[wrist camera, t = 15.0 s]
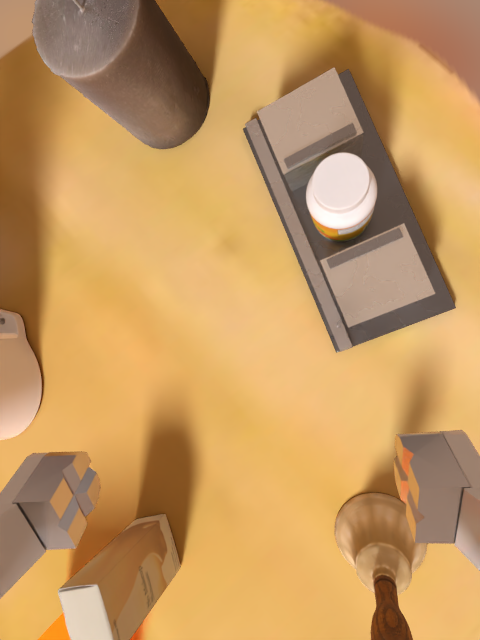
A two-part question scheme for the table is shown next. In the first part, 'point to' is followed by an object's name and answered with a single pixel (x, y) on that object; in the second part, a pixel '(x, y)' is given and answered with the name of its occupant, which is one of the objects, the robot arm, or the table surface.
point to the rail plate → (374, 242)
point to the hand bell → (380, 556)
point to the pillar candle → (125, 65)
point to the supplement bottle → (341, 196)
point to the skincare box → (121, 582)
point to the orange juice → (57, 630)
